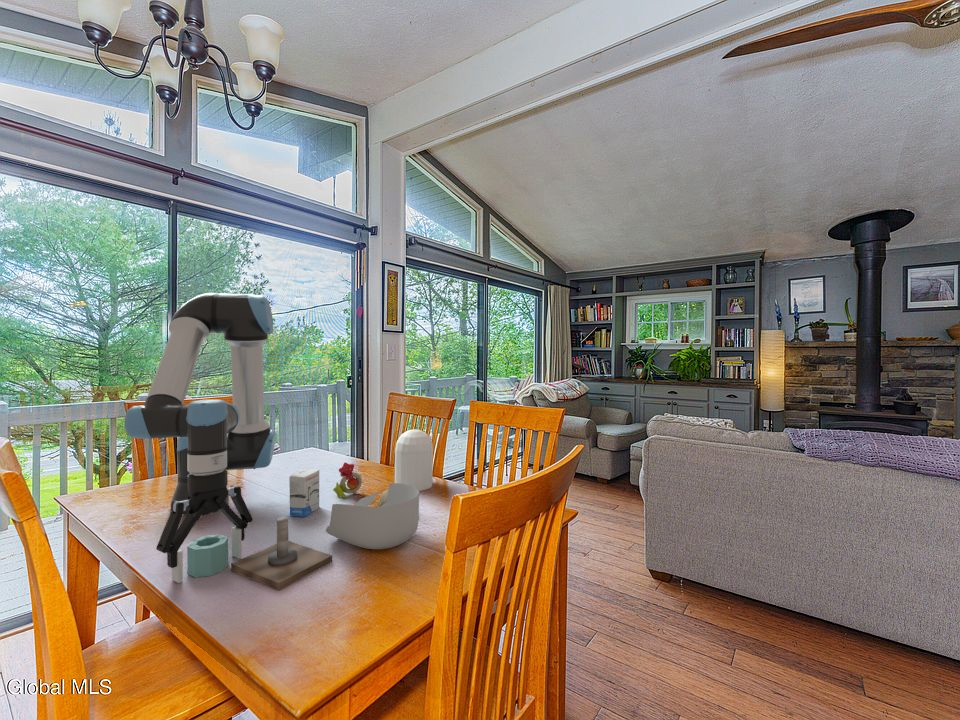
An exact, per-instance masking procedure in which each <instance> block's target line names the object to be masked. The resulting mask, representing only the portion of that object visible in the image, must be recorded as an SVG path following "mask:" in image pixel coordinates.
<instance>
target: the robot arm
mask: <svg viewBox="0 0 960 720" xmlns="http://www.w3.org/2000/svg"><path fill="white" fill-rule="evenodd" d="M168 325H169V326H168V330H169V332H170V335H169V337H168V340H167V343H166V346H165V347H164V348H165V349H164V350H163V353H162V357H161V359H160V361H159V365H158V367H157V369H156V372H155V375H154V377H153V380H152V383H151V385H150V388H149V390H148V393H147V396H146V399H145V402H144V404H143V405H141V404H140V405H133V406H131V407H129V408H128V409H127V411H126V413H125V416H124V420H123V421H124V422H123V423H124V424H123V425H124V430H125V432H126V434H127V436H129V438H132V439H140V440H141V439H143V440H145V439H147V440H153V439H162V438H163V439H164V438H165V439H167V438H168V439H169V438H177V443H176V444H177V445H176V446H177V448H176V451H175V452H176V462H177V466H176V467H177V484H176V486H175V489H174V492H173V495H172V498H171V501H170V514H169V516H168V518H167V521H166V523H165V526H164V528H163V530H162V533H161V535H160V538H159V540H158V543H157V545H156V547H155V550H157V551H158V552H160V553H163V554H166V555H167V556H166V558H167V559H166V560H167V563H166V565H167V566H168V568H171V581H174V582H176V583H177V584H181V583H183V582H184V581H183V578H184V577H183V573H184V572H183V570H184V569H183V562H184V560H183V553H184V552H183V550H181V549H180V548H181V546H182V545H183V543H184V541H186V539H187V537H188V535H189V533H190V532H191V530H193V529H192V528H193V527H194V526H195V525H196V523H197V522H198V521H199V520H200V519H201V517H202V516H203V517H205V516H208V515H210V514H212V513H218V512H221V514H222V515H224V516H225V517H226V518H227V519H228V520H229V521H230V523H232V525H234V526H233V527H231V528H230V531H231V532H230V535H231V536H230V538H231V541H230V542H231V544H230V545H231V546H230V547H231V548H230V551H231V555H230V556H232V557H235V558H237V559H241V557H242V554H243V553H242V547H243V546H242V542H243V541H244V540H245V529H247V528H248V523H252V522H253V519H254V518H253V516H252V514H251V512H250V510H249V508H248V506H247V504H246V502H245V500H244V498H243V496H242V488H241V486H239V485H235V484H231V485H230V486H229V487H228V482H229V481H228V479H229V478H228V477H229V474H228V471H234V470H235V471H236V470H237V471H238V470H251V469H252V470H255V469H263V468H267V467H269V466H270V465H271V463H272V461H273V455H274V451H275V450H274V449H275V447H276V446H275V445H276V436H277V435H276V430H274V429H271V424H270V422H268V421H267V420H265V397H264V395H265V394H264V391H265V390H264V353H263V345H264V344H265V343H266V342H267V341H268V339H269V335H271V334H273V332H274V320H273V313H272V308H271V305H270V302H269V300H268V299H267V297H265V296H263V295H259V294H251V293H247V294H246V293H245V294H244V293H216V292H207V293H203V294H199V295H197V296H195V297H193V298H191V299H189V300H187V302H185V303H183V304H182V305H181V307H179V308H178V309H177V310H176V312H175V313H174V314H173V316H172V317H171V320H170V323H169V324H168ZM213 333H214V334H223V338H224V341H225V342H226V343H227V344H228V345H230V362H231V363H230V364H231V367H230V368H231V369H230V370H231V387H232V388H231V389H232V390H231V393H232V403H230V402H226V401H225V400H223V399H201V400H200V399H199V400H193V401H191V402H189V404H184V403H185V399H186V396H187V392H188V390H189V386H190V383H191V379H192V377H193V373H194V369H195V367H196V363H197V360H198V357H199V353H200V352H201V351H200V350H201V347H202V344H203V342H205V341H206V340H207V339H208V338H209V336H210V334H213ZM227 487H228V488H227ZM229 497H230V498H229ZM230 500H231V501H232V503H233V504H234V507H235V509H236V510H237V513H238V514H239V515H238V514H237V513H236V512H235V511H234V510H233V509H232V508H231V507H230V505H229V502H230ZM183 515H184V516H185V517H184V518H183ZM182 519H183V520H182ZM181 521H182V522H181Z"/></svg>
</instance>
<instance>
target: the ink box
mask: <svg viewBox="0 0 960 720" xmlns="http://www.w3.org/2000/svg"><path fill="white" fill-rule="evenodd" d="M288 482H289V516H290V517H301V518H302V517H303V518H305V517H306V516H308V515H310V514H312V513H313V512H314V511H316V510H318V509H319V508H320V469H314V468H312V469H311V468H304V469H301V470H299V471H297V472H294V473H292V474H290V476H289V481H288Z"/></svg>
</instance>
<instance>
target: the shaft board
mask: <svg viewBox="0 0 960 720" xmlns="http://www.w3.org/2000/svg"><path fill="white" fill-rule="evenodd" d="M332 562H333V555H332V554H329V553H326V552H323V551H320V550H317V549H314V548H311V547H308V546H305V545H303V544H299V543H296V542H293V541H290V540H289V517H280V518H277V519H276V544H273V545H270V546H268V547H266V548H264V549H262V550H259V551H257V552H255V553H252V554H249V555H248V556H246V557H243V558H239V559H237V560H236V561H234V562H231V563H230V571H232V572H234V573H236V574H238V575H241V576H244V577H246V578H249V579H251V580H252V581H255V582H258V583H260V584H261V585H264V586H267V587H270V588H272V589H275V590H277V591H280V590H282V589H284V588H286V587H288V586H290V585H292V584H293V583H295V582H297V581H299V580H300V579H303V578H304V577H307V576H308V575H310V574H312V573H314V572H316V571H317V570H320V569H321V568H323V567H325V566H327V565H329V564H331V563H332Z"/></svg>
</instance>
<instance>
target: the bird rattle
mask: <svg viewBox="0 0 960 720" xmlns="http://www.w3.org/2000/svg"><path fill="white" fill-rule="evenodd" d="M354 468H355V464H354V463H348V462H344V463H343V465H342V467H340V468H338V472H339V473H340V477H341V479H340V481H339V482H338V481H337V482H336V484H335V487H334V488H332V489H333V490H332V491H333V492H334V493H336V495H337V496H338V498H340V499H342V498H343V497H344V498H345V499H347V494H349V495H351V494H353V495H356V494H357V492H358V491H359V490H360V489H361V487H362V484H363V480H362V476H361V474H359V473H358V472H355V471H354V470H355V469H354Z"/></svg>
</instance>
